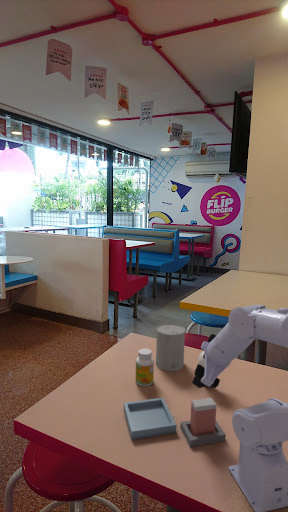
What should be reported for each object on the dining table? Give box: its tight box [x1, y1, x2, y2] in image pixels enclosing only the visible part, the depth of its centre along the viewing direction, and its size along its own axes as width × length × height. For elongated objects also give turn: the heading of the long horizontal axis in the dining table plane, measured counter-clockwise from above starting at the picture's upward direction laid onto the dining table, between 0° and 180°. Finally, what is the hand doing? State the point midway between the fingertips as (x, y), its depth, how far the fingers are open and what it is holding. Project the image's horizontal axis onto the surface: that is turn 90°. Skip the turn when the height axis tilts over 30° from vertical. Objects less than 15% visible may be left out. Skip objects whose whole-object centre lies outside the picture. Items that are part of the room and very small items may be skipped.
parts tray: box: [123, 397, 178, 441], centre depth 73 cm, size 11×11×2 cm
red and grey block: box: [189, 397, 217, 436], centre depth 69 cm, size 2×5×8 cm, turn 103°
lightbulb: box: [197, 350, 209, 388], centre depth 88 cm, size 6×6×11 cm
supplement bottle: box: [135, 348, 155, 387], centre depth 90 cm, size 5×5×10 cm
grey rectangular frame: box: [179, 420, 226, 447], centre depth 69 cm, size 6×8×2 cm
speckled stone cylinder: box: [155, 323, 186, 372], centre depth 101 cm, size 10×10×12 cm
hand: (201, 371), depth 72 cm, fingers open, 7 cm apart
